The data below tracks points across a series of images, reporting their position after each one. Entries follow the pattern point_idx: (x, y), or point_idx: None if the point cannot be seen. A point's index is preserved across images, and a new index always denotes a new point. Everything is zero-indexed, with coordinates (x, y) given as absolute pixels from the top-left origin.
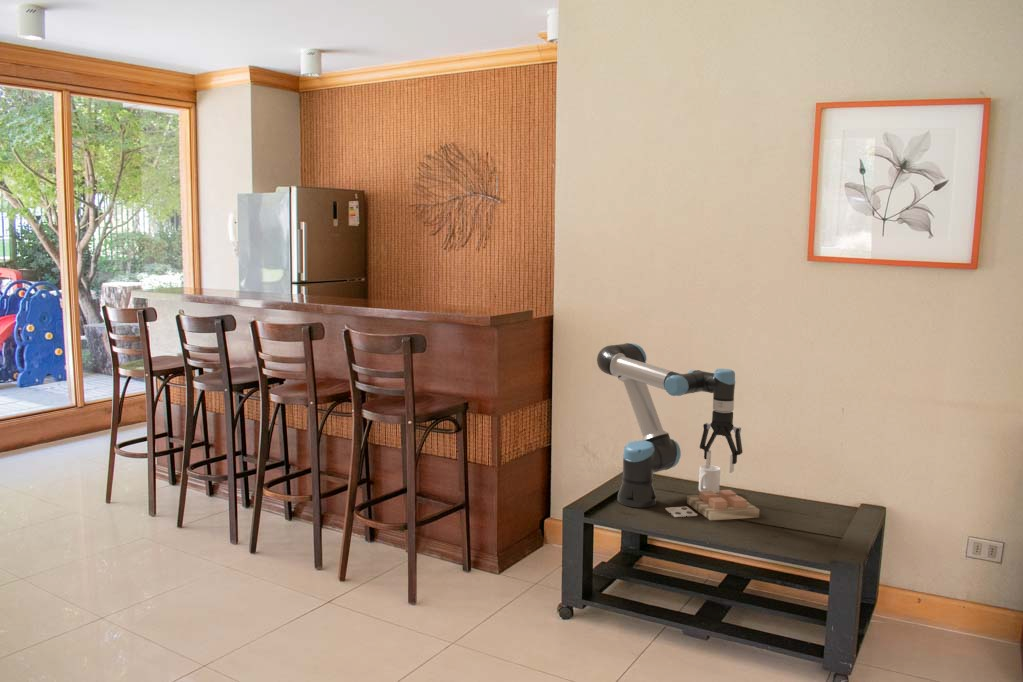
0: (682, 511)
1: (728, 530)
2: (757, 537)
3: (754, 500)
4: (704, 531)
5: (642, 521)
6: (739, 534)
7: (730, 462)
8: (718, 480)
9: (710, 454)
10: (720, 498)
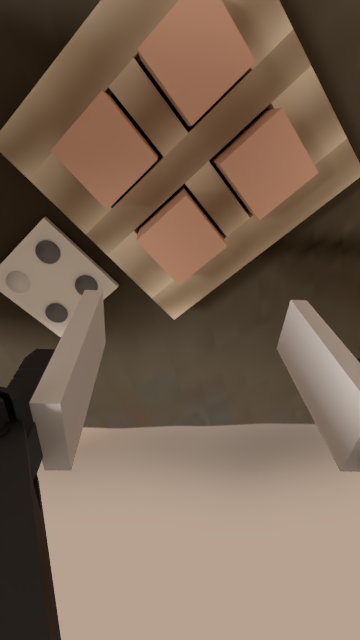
0: (59, 286)
1: (244, 354)
2: None
3: None
4: (183, 390)
5: None
6: (277, 367)
7: (312, 408)
8: None
9: (75, 380)
10: (188, 219)
